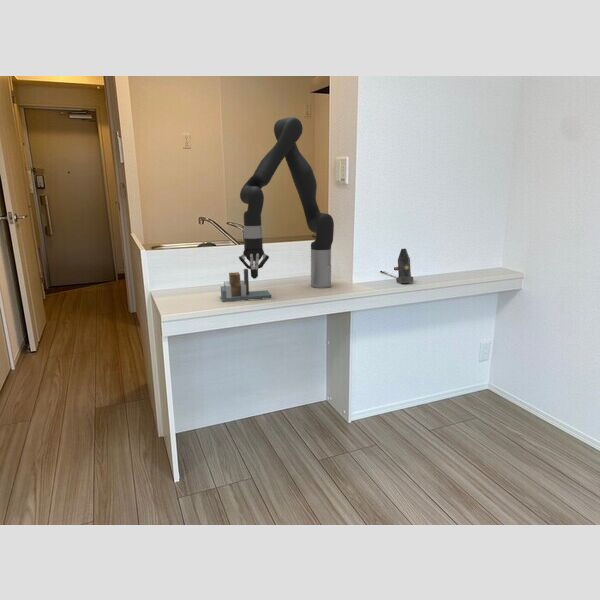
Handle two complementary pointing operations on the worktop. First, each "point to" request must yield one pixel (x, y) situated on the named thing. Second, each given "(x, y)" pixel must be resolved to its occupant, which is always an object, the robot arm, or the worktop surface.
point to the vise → (252, 295)
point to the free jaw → (245, 284)
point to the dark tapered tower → (403, 268)
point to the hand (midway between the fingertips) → (254, 278)
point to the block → (235, 284)
